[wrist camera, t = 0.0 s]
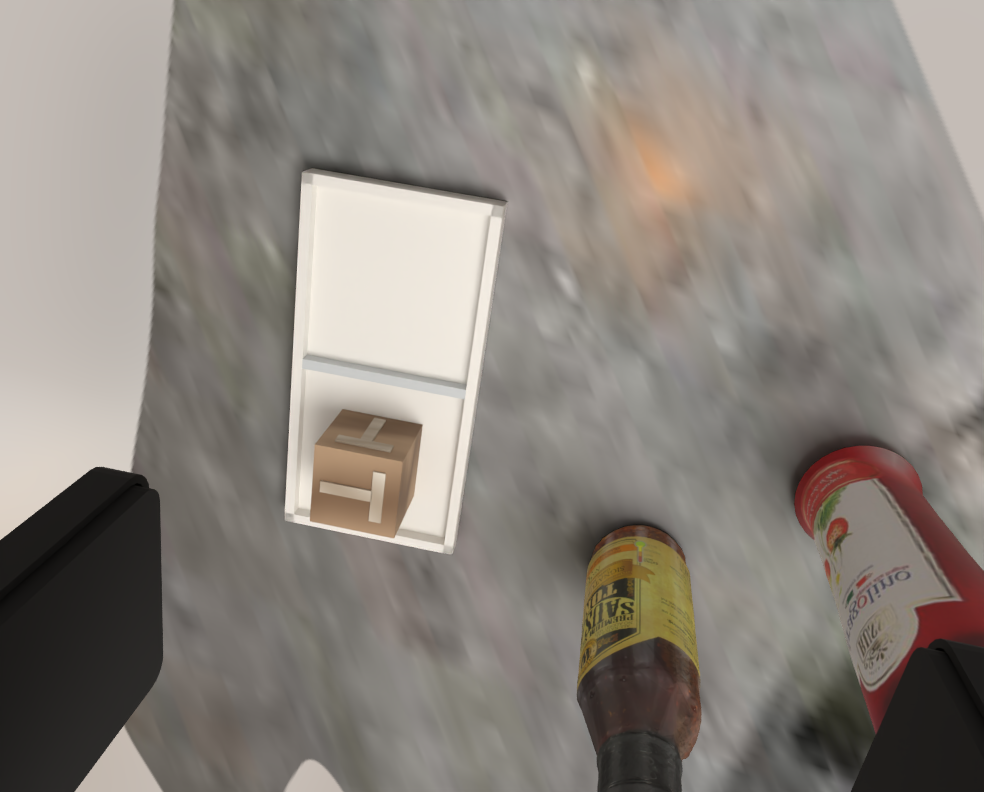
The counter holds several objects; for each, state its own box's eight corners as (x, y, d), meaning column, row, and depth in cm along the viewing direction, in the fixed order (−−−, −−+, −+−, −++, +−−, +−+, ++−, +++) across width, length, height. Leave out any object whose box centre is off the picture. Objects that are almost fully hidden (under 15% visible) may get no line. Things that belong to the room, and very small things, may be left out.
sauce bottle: (618, 502, 51) (618, 752, 32) (707, 548, 51) (756, 821, 33) (567, 579, 53) (541, 850, 35) (652, 622, 53) (669, 912, 35)
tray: (312, 168, 45) (301, 171, 44) (507, 201, 45) (503, 206, 43) (293, 507, 54) (284, 520, 53) (456, 541, 53) (452, 555, 52)
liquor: (869, 562, 50) (1137, 1100, 24) (762, 510, 49) (916, 999, 24) (946, 467, 47) (1345, 964, 21) (832, 411, 46) (1096, 846, 21)
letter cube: (342, 407, 50) (314, 443, 45) (423, 422, 49) (402, 460, 45) (336, 480, 52) (308, 522, 47) (413, 495, 51) (393, 539, 47)
